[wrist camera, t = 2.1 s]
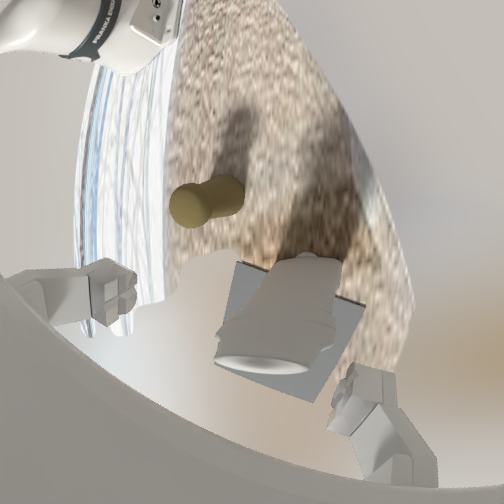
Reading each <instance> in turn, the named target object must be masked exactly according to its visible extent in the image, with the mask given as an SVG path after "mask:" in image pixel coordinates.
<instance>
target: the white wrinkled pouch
mask: <svg viewBox="0 0 504 504" xmlns="http://www.w3.org/2000/svg"><path fill="white" fill-rule="evenodd" d="M341 272H342V263H341V261H339V260H338V259H336V258H328V257H318V256H317V255H315V254H314V253H311V252H302V253H300V254H298V255H297V256H296V257H295V258H290V259H284V260H279V261H278V262H276V263H275V264H274V265H273V267H272V268H271V269H270V270H269V272H268V273H267V274H266V276H265V277H264V278H263V279H262V281H261V282H260V283H259V286H258V290H257V291H256V292H255V293H254V295H253V296H252V297H251V298H250V299H249V301H248V302H247V303H246V304H245V305H244V306H243V308H241V309H240V311H239V312H237V313H235V314H233V315H231V316H230V317H229V318H228V319H227V320H226V322H225V323H224V324H223V325H222V326H221V328H220V329H219V330H218V331H217V333H216V335H215V337H216V339H217V340H218V341H219V342H220V343H219V346H218V349H217V352H216V355H215V357H214V359H213V360H214V361H215V362H217V363H219V364H221V365H223V366H226V367H229V368H233V369H237V370H242V371H247V372H254V373H262V374H295V373H302V372H305V371H308V370H309V369H310V367H311V366H312V364H313V362H314V360H315V359H316V357H317V356H318V354H319V353H320V352H321V351H323V350H326V349H328V348H330V347H332V346H333V345H334V344H335V342H336V335H337V328H338V327H337V321H336V319H335V318H334V317H333V316H334V312H333V311H334V300H335V295H336V293H335V292H336V291H337V290H338V288H339V286H340V280H341Z"/></svg>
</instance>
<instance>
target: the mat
mask: <svg viewBox="0 0 504 504" xmlns="http://www.w3.org/2000/svg"><path fill="white" fill-rule="evenodd" d="M267 273H268V272H266V271H263V270H260V269H258V268H255V267H252V266H249V265H247V264H244V263H241V262H239V261H237V262H236V267H235V271H234V276H233V280H232V285H231V290H230V294H229V298H228V302H227V307H226V312H225V316H224V321H223V324H224V323H225V322H226V320H227V319H228V318H229V317H230V316H231V315H233V314H235V313H237V312H239V311H240V309H241V308H243V306H244V305H245V304H246V303H247V302H248V301H249V299H250V298H251V297H252V296H253V295H254V293H255V292H256V291H257V290H258V286H259V283H260V282H261V281H262V279H263V278H264V277H265V276H266V274H267ZM364 310H365V307H364V306H361V305H358V304H355V303H352V302H350V301H347V300H344V299H341V298H338V297H335V300H334V311H333V312H334V316H333V317H334V318H335V319H336V321H337V327H338V328H337V335H336V342H335V344H334V345H333V346H332V347H330V348H328V349H326V350H323V351H321V352H320V353H319V354H318V356H317V357H316V359H315V360H314V362H313V364H312V366H311V367H310V369H309V370H308V371H305V372H302V373H295V374H262V373H254V372H247V371H242V370H237V369H233V368H229V367H226V366H223V365H221V364H219V363H217V362H215V363H214V364H215V365H217V366H219V367H221V368H224V369H226V370H228V371H231V372H233V373H235V374H237V375H240V376H242V377H245V378H247V379H249V380H252V381H255V382H257V383H260V384H262V385H264V386H267V387H269V388H272V389H275V390H277V391H280V392H283V393H286V394H288V395H291V396H294V397H297V398H300V399H302V400H306V401H309V402H312V403H314V401H315V399H316V398H317V396H318V394H319V393H320V391H321V390H322V388H323V386H324V385H325V383H326V381H327V380H328V377H329V376H330V375H331V372H332V371H333V369H334V368H335V366H336V364H337V362H338V360H339V359H340V357H341V355H342V353H343V351H344V350H345V348H346V346H347V344H348V342H349V340H350V338H351V336H352V334H353V332H354V330H355V328H356V326H357V324H358V322H359V320H360V318H361V316H362V314H363V312H364ZM219 343H220V342H219ZM218 346H219V344H218Z"/></svg>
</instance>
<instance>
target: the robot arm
mask: <svg viewBox="0 0 504 504" xmlns="http://www.w3.org/2000/svg"><path fill="white" fill-rule="evenodd" d="M181 4H182V0H0V54H1V53H6V52H15V51H31V52H42V53H52V54H58V55H59V56H60V57H62V58H67V59H70V60H74V61H80V62H94V63H96V64H99V65H101V66H104V67H106V68H108V69H109V70H111V71H112V72H114V73H115V74H117V75H119V76H129V75H132V74H135V73H137V72H139V71H140V70H142V69H143V68H145V67H146V66H147V65H148V64H149V63H150V62H151V61H152V60H153V59H154V58H155V56H156V55H157V54H158V53H159V52H160V51H161V50H162V49H163V48H165V47H166V46H168V45H170V44H171V43H172V42H173V41H174V40H175V39H176V37H177V32H178V24H179V17H180V10H181ZM170 30H171V31H170ZM169 31H170V32H169ZM136 284H137V274H136V273H135V272H134V271H132V270H130V269H128V268H127V267H125V266H123V265H121V264H119V263H117V262H115V261H113V260H112V259H110V258H103V259H100V260H98V261H96V262H93V263H91V264H89V265H87V266H84V267H82V268H80V269H76V268H68V269H67V268H64V269H39V270H38V269H37V270H25V271H23V272H20V273H18V274H16V275H13V276H11V277H9V278H7V279H5V278H4V277H3V276H2V275H1V274H0V504H504V484H501V485H493V486H484V487H469V488H438V468H437V458H436V456H435V455H434V454H433V452H432V450H431V449H430V448H429V446H428V445H427V444H426V442H425V441H424V439H423V438H422V436H421V435H420V434H419V433H418V431H417V430H416V428H415V427H414V425H413V424H412V423H411V421H410V420H409V418H408V417H407V416H406V414H405V413H404V412H403V410H402V409H401V408H398V405H397V391H396V380H395V374H394V373H392V372H388V371H384V370H378V369H375V368H372V367H368V366H365V365H362V364H359V363H356V362H352V363H351V365H350V366H349V368H348V369H347V373H346V378H344V379H342V380H341V381H340V383H339V384H338V386H337V388H336V390H335V393H334V395H333V398H332V403H331V406H332V408H333V410H332V412H331V413H330V414H329V418H328V423H327V428H326V430H328V431H332V432H334V433H338V434H341V435H344V436H348V437H349V439H350V442H351V444H352V447H353V449H354V452H355V454H356V457H357V459H358V462H359V465H360V467H361V470H362V472H363V475H364V478H365V479H364V480H357V479H352V478H347V477H342V476H337V475H333V474H328V473H325V472H321V471H317V470H313V469H309V468H306V467H302V466H299V465H295V464H292V463H289V462H286V461H283V460H280V459H277V458H274V457H271V456H268V455H266V454H263V453H260V452H257V451H255V450H252V449H250V448H247V447H244V446H242V445H240V444H237V443H235V442H232V441H230V440H228V439H225V438H223V437H221V436H219V435H217V434H214V433H212V432H210V431H208V430H206V429H204V428H202V427H200V426H198V425H196V424H194V423H192V422H190V421H188V420H186V419H184V418H182V417H180V416H178V415H176V414H175V413H173V412H171V411H169V410H168V409H166V408H164V407H162V406H161V405H159V404H157V403H155V402H154V401H152V400H150V399H149V398H147V397H145V396H144V395H142V394H141V393H139V392H137V391H136V390H134V389H133V388H131V387H130V386H128V385H127V384H125V383H124V382H122V381H121V380H119V379H118V378H116V377H115V376H113V375H112V374H111V373H109V372H108V371H107V370H105V369H104V368H102V367H101V366H100V365H98V364H97V363H96V362H94V361H93V360H92V359H90V358H89V357H88V356H86V355H85V354H84V353H83V352H81V351H80V350H79V349H78V348H76V347H75V346H74V345H73V344H72V343H70V342H69V341H68V340H67V339H66V338H64V337H63V336H62V335H61V334H60V333H59V332H58V331H56V330H55V329H54V328H53V327H54V326H59V325H63V324H67V323H72V322H77V321H82V320H86V319H90V318H91V317H92V318H94V319H95V320H97V321H98V322H100V323H101V324H103V325H104V326H106V327H108V326H109V325H111V324H112V323H114V322H115V321H116V320H118V319H119V315H121V314H127V313H128V312H129V311H131V310H132V308H133V307H134V305H135V303H136V299H137V292H136V290H135V288H134V286H135V285H136Z"/></svg>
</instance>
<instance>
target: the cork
mask: <svg viewBox="0 0 504 504" xmlns="http://www.w3.org/2000/svg"><path fill="white" fill-rule="evenodd" d="M244 198H245V195H244V189H243V187H242V185H241V183H240V182H239V181H238V180H237V179H236V178H234V177H233V176H230V175H226V174H225V175H219V176H216V177H214V178H212V179H210V180H208V181H206V182H203V183H201V184H195V183H188V184H183V185H182V186H180V187H178V188H177V189H176V190H175V191H174V192H173V194H172V196H171V198H170V203H169V209H170V213H171V216H172V218H173V219H174V220H175V222H176V223H178V224H179V225H181V226H182V227H185V228H197V227H199V226H202V225H204V224H205V223H206V222H207V221H208V220H209V219H211V218H218V217H225V216H231V215H233V214H236V213H237V212H238V211H239V210H240V209H241V207H242V205H243V204H244Z"/></svg>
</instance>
